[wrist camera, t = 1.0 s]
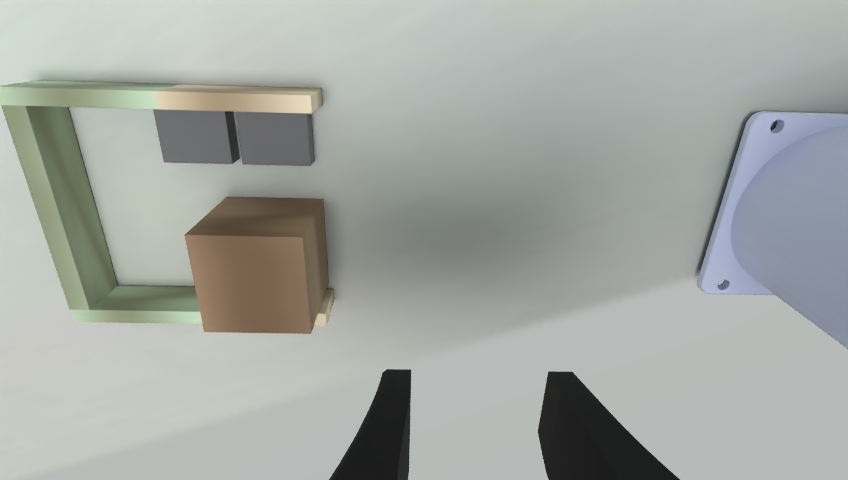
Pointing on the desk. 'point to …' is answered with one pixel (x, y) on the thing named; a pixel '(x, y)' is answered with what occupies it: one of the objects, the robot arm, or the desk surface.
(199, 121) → the tiles
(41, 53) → the desk surface
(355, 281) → the desk surface
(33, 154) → the green beige u-shaped frame
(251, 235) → the block
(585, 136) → the desk surface
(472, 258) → the desk surface
